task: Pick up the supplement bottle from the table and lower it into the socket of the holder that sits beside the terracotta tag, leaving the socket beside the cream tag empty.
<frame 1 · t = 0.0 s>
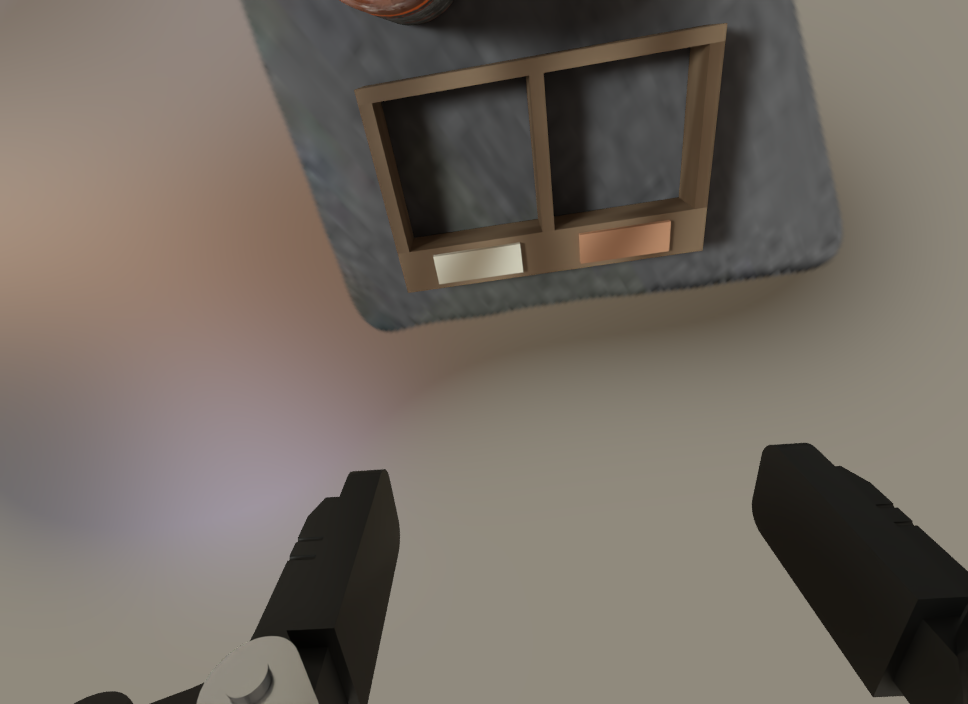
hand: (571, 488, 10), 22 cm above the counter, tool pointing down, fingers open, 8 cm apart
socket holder: (539, 167, 28), on the counter
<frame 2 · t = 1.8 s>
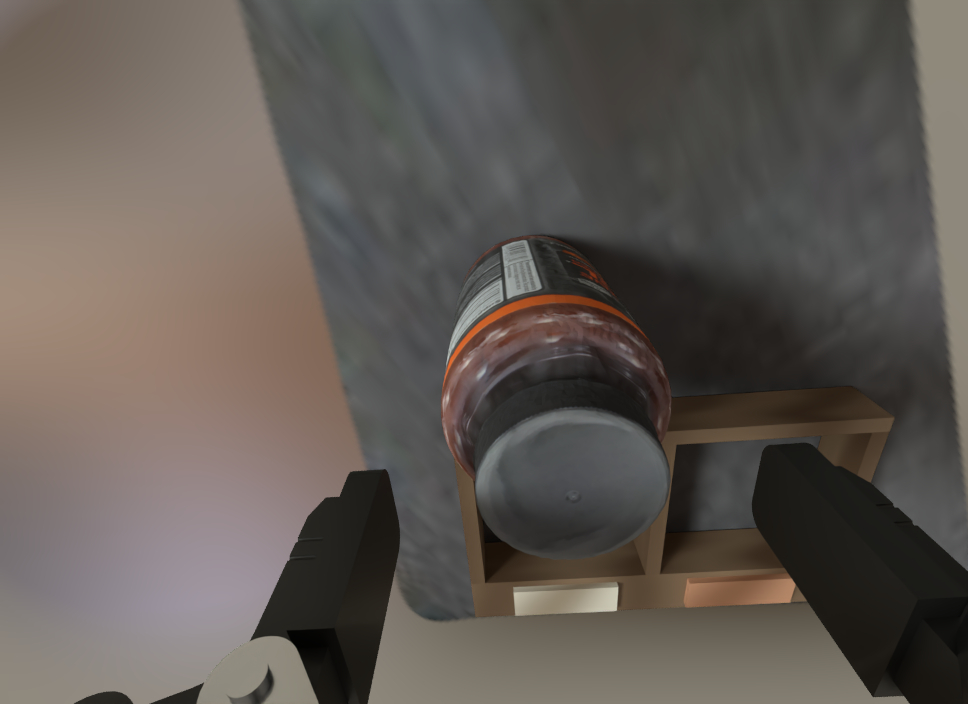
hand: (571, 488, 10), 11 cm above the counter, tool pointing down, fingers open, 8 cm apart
supplement bottle: (528, 300, 20), on the counter
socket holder: (642, 492, 24), on the counter
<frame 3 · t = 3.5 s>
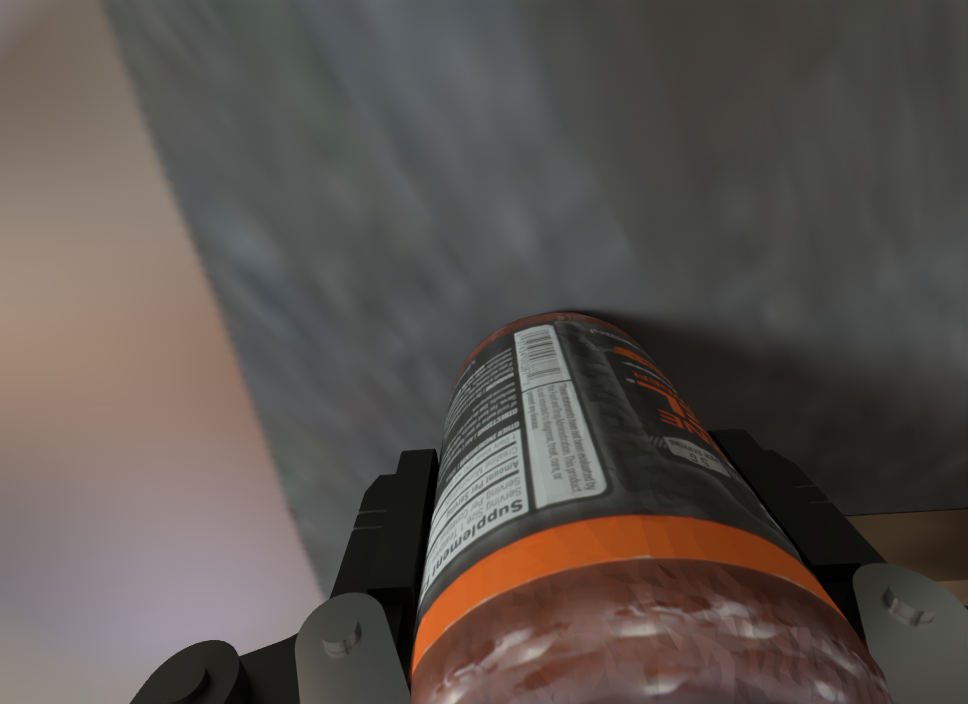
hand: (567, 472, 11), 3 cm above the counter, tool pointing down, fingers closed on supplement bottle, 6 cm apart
supplement bottle: (551, 397, 14), on the counter, touching gripper
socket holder: (700, 634, 18), on the counter
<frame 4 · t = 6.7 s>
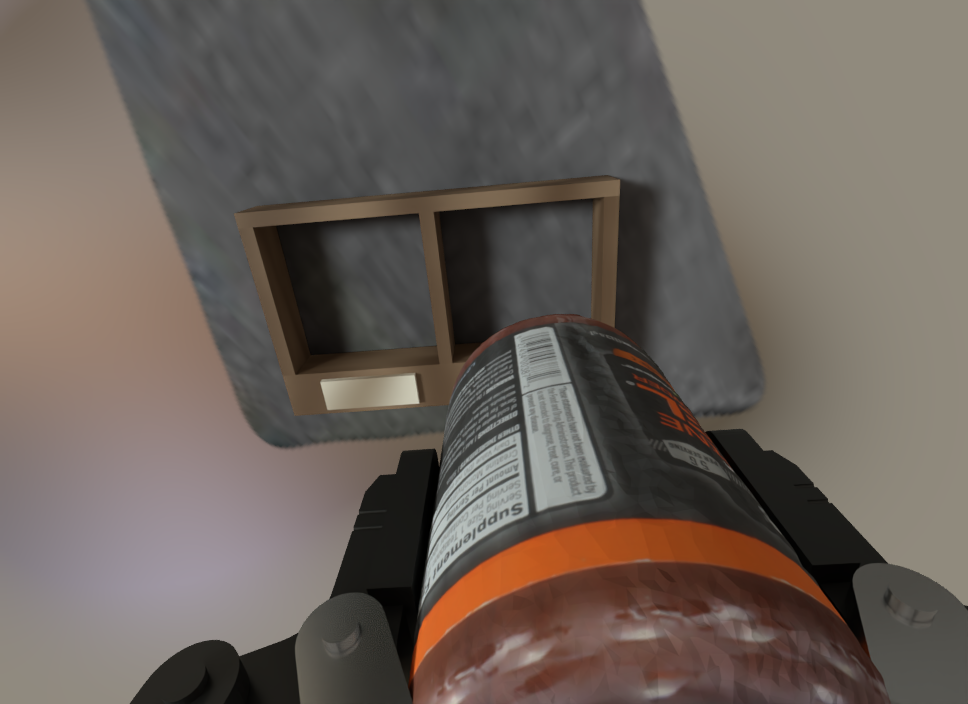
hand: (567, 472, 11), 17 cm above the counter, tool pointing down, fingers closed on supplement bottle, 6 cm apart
supplement bottle: (551, 399, 14), point 13 cm above the counter, touching gripper
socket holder: (443, 295, 26), on the counter
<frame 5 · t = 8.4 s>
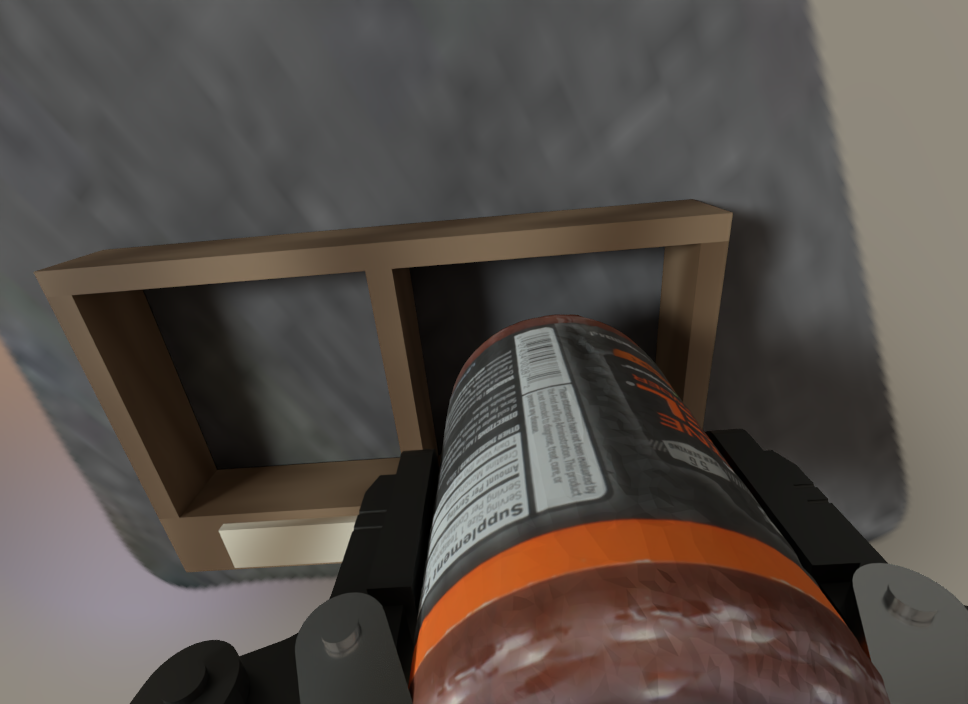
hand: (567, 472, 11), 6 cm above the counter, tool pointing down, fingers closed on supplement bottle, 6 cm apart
supplement bottle: (551, 399, 14), point 3 cm above the counter, touching gripper
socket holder: (417, 386, 17), on the counter
when the fingers open (4 cm above the counter, at t = 9.9 s): supplement bottle drops 1 cm, resting in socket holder.
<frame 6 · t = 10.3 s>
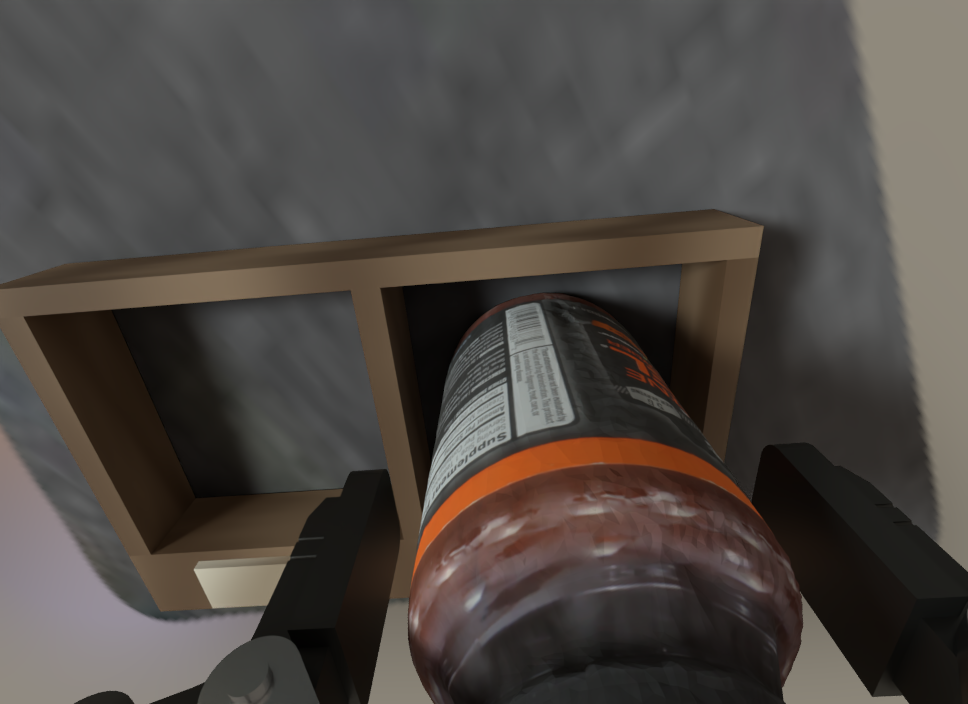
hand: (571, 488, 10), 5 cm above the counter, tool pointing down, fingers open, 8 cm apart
supplement bottle: (540, 372, 15), resting in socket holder
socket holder: (411, 410, 15), on the counter
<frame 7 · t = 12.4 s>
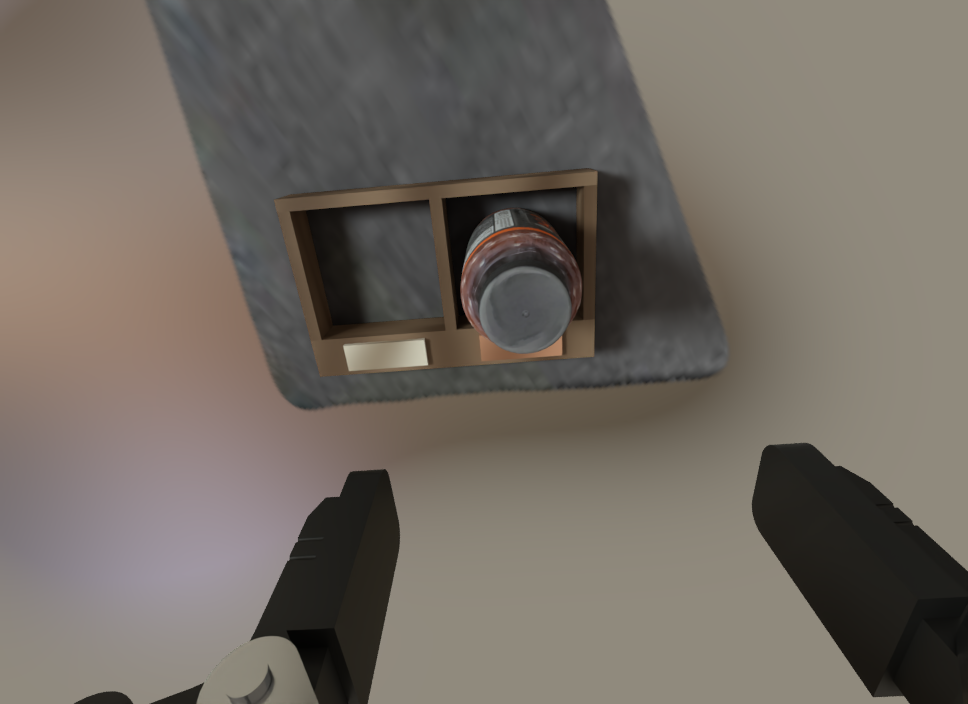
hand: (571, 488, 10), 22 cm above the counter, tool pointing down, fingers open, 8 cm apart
supplement bottle: (512, 252, 30), resting in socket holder
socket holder: (448, 272, 31), on the counter
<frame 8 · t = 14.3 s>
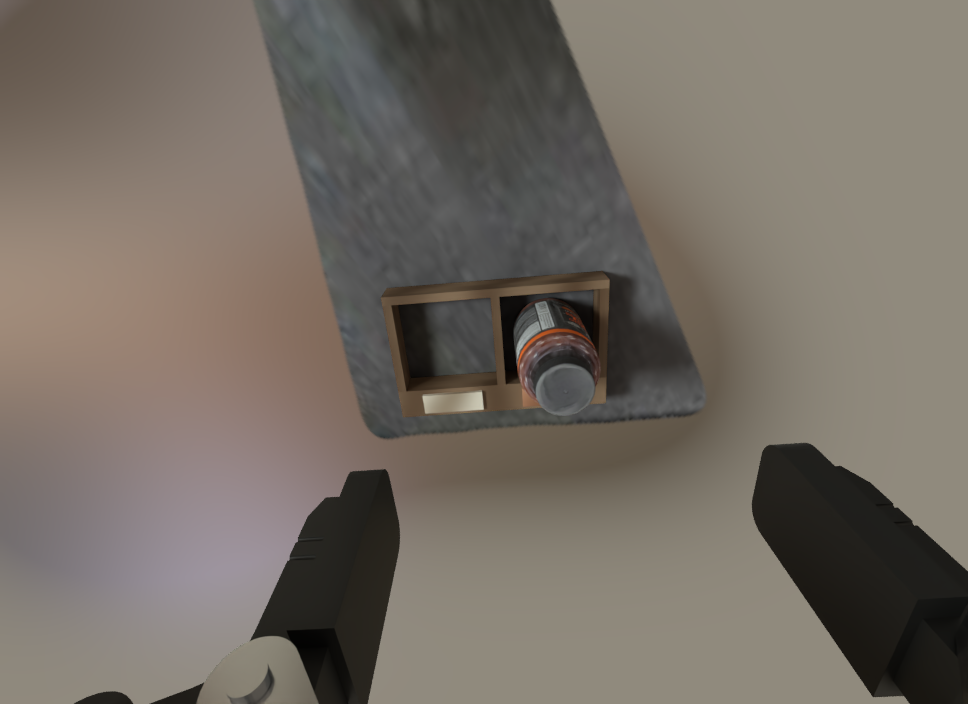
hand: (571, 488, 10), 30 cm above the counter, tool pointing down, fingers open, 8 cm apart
supplement bottle: (545, 326, 41), resting in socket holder
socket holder: (498, 341, 42), on the counter
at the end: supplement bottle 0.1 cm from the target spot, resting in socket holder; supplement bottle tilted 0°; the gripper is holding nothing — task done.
